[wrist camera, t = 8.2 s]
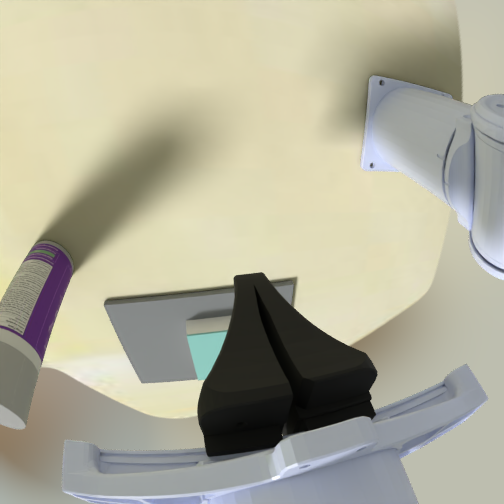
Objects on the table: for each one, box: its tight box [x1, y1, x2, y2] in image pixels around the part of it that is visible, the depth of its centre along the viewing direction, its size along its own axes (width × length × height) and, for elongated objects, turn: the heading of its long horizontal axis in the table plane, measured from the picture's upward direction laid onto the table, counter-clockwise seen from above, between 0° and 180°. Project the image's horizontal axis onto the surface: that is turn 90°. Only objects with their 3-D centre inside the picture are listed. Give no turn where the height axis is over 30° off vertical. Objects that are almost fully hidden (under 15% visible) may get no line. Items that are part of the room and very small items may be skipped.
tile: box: [186, 316, 231, 380], centre depth 30 cm, size 2×8×6 cm
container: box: [0, 241, 74, 429], centre depth 16 cm, size 5×5×15 cm
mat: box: [104, 281, 294, 383], centre depth 31 cm, size 18×14×1 cm
